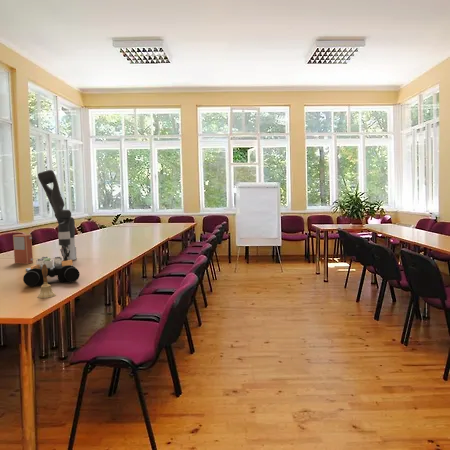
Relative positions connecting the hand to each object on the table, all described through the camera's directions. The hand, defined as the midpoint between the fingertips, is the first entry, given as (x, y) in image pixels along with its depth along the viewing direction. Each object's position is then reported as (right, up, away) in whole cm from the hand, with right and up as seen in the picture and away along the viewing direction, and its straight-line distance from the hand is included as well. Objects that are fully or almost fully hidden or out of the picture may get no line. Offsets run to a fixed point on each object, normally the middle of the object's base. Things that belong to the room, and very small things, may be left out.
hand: (65, 262), depth 281 cm
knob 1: (-12, -3, -17) cm, 21 cm away
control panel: (-41, -3, +24) cm, 48 cm away
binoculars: (+12, -7, -49) cm, 51 cm away
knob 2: (0, -2, -4) cm, 4 cm away
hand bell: (+22, -9, -80) cm, 84 cm away
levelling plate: (-9, -4, -7) cm, 12 cm away
